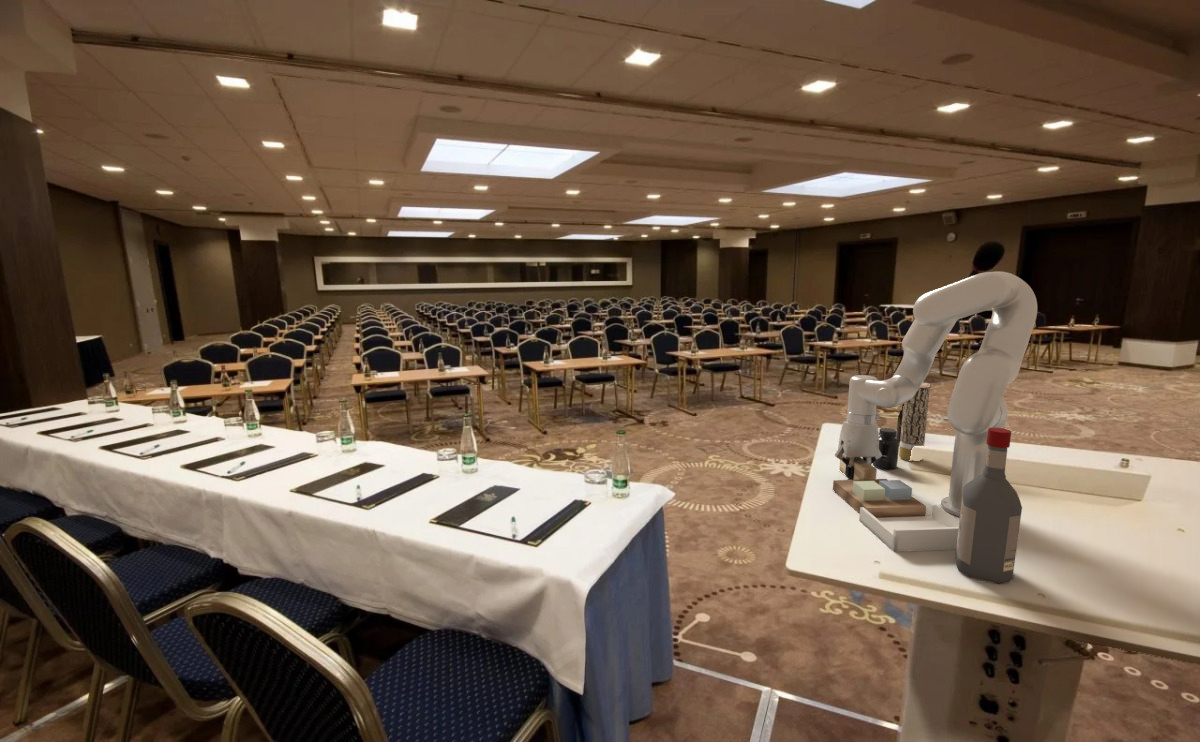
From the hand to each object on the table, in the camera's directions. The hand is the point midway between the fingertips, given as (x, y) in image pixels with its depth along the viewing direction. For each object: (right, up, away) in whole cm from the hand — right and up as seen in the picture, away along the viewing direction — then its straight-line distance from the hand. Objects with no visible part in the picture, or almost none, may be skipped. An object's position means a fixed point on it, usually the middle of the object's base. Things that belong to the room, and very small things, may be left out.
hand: (856, 477), depth 158 cm
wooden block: (0, -1, 0) cm, 1 cm away
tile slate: (+1, -1, -18) cm, 18 cm away
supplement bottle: (+14, +1, +10) cm, 17 cm away
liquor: (+3, -10, -48) cm, 49 cm away
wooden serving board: (-2, -4, -16) cm, 16 cm away
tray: (-2, -7, -33) cm, 33 cm away
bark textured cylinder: (+26, +3, +17) cm, 31 cm away
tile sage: (-6, -1, -18) cm, 19 cm away
